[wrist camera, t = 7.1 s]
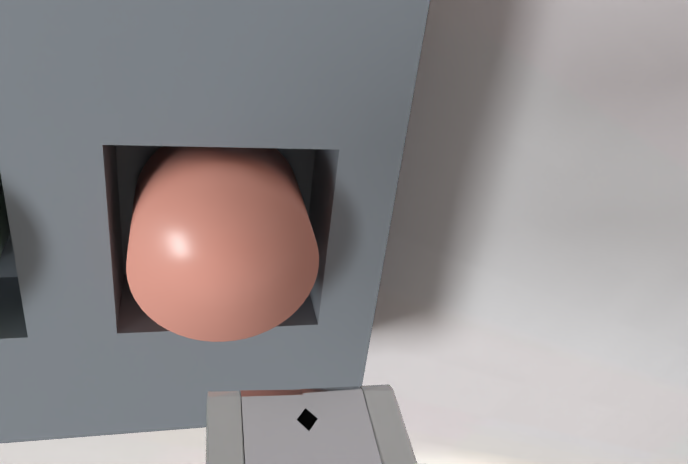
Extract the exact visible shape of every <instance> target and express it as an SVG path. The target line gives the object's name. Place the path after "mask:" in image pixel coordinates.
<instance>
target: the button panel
mask: <svg viewBox="0 0 688 464" xmlns="http://www.w3.org/2000/svg"><path fill="white" fill-rule="evenodd" d="M429 3H430V0H0V173H1V179H2V185H3V191H4V197H5V203H6V209H7V215H8V221H9V227H10V233H9V236H8V238H7V241H6V243H5V246H4V248H3V250H2V253H1V255H0V443H11V442H24V441H36V440H49V439H62V438H74V437H87V436H100V435H113V434H125V433H138V432H151V431H163V430H176V429H189V428H202V427H206V414H207V394H208V392H212V391H239V393H240V390H300V389H311V388H331V387H351V386H358V387H360V386H362V382H363V376H364V371H365V365H366V359H367V354H368V348H369V343H370V337H371V331H372V326H373V320H374V314H375V309H376V303H377V297H378V292H379V286H380V280H381V275H382V269H383V263H384V258H385V252H386V246H387V241H388V235H389V229H390V224H391V218H392V212H393V207H394V201H395V196H396V190H397V184H398V179H399V173H400V167H401V162H402V156H403V150H404V145H405V139H406V133H407V128H408V122H409V116H410V111H411V105H412V99H413V94H414V88H415V82H416V77H417V71H418V66H419V60H420V54H421V49H422V43H423V37H424V32H425V26H426V20H427V15H428V9H429ZM162 146H183V147H232V148H276V149H277V150H278V151H279V152H280V153H281V154H282V155H283V156H284V157H285V159H286V160H287V161H288V163H289V164H290V166H291V168H292V170H293V172H294V174H295V177H296V180H297V183H298V186H299V189H300V192H301V195H302V198H303V201H304V204H305V207H306V210H307V214H308V217H309V220H310V223H311V226H312V229H313V232H314V235H315V238H316V242H317V245H318V252H319V268H318V273H317V277H316V280H315V283H314V286H313V288H312V290H311V292H310V294H309V296H308V297H307V298H306V300H305V301H304V303H303V304H302V305H301V306H300V307H299V308H298V310H297V311H296V312H295V313H294V314H292V315H291V316H290V317H289V318H288V319H286V320H285V321H284V322H282V323H281V324H279V325H278V326H276V327H274V328H272V329H270V330H268V331H266V332H264V333H261V334H259V335H256V336H253V337H249V338H246V339H241V340H236V341H226V342H210V341H200V340H195V339H190V338H187V337H184V336H181V335H178V334H175V333H173V332H171V331H169V330H167V329H165V328H163V327H162V326H160V325H158V324H157V323H156V322H155V321H153V320H152V319H151V318H150V317H149V316H148V315H147V314H146V313H145V312H144V311H143V310H142V309H141V308H140V306H139V305H138V303H137V302H136V301H135V299H134V297H133V295H132V293H131V290H130V287H129V284H128V280H127V273H126V260H127V251H128V243H129V235H130V226H131V218H132V209H133V201H134V193H135V187H136V183H137V180H138V177H139V174H140V172H141V171H142V169H143V167H144V165H145V164H146V162H147V161H148V160H149V158H150V157H151V156H152V155H153V154H154V153H155V152H156V151H157V150H158V149H159V148H160V147H162Z"/></svg>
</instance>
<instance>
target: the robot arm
mask: <svg viewBox="0 0 688 464" xmlns="http://www.w3.org/2000/svg"><path fill="white" fill-rule="evenodd" d="M206 464H417V461H416V458H415V455H414V452H413V449H412V446H411V443H410V439H409V436H408V433H407V430H406V427H405V424H404V421H403V418H402V415H401V412H400V409H399V406H398V403H397V400H396V396H395V393H394V390H393V388H392V387H391V386H390V385H372V386H360V387H358V386H351V387H331V388H311V389H300V390H240V393H239V391H212V392H208V394H207V414H206Z"/></svg>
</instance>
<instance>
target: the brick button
mask: <svg viewBox="0 0 688 464" xmlns="http://www.w3.org/2000/svg"><path fill="white" fill-rule="evenodd" d="M318 268H319V252H318V245H317V242H316V238H315V235H314V232H313V229H312V226H311V223H310V220H309V217H308V214H307V210H306V207H305V204H304V201H303V198H302V195H301V192H300V189H299V186H298V183H297V180H296V177H295V174H294V172H293V170H292V168H291V166H290V164H289V163H288V161H287V160H286V159H285V157H284V156H283V155H282V154H281V153H280V152H279V151H278V150H277V149H276V148H232V147H183V146H162V147H160V148H159V149H158V150H157V151H156V152H155V153H154V154H153V155H152V156H151V157H150V158H149V160H148V161H147V162H146V164H145V165H144V167H143V169H142V171H141V172H140V174H139V177H138V180H137V183H136V187H135V193H134V201H133V209H132V218H131V226H130V235H129V243H128V251H127V260H126V273H127V280H128V284H129V287H130V290H131V293H132V295H133V297H134V299H135V301H136V302H137V303H138V305H139V306H140V308H141V309H142V310H143V311H144V312H145V313H146V314H147V315H148V316H149V317H150V318H151V319H152V320H153V321H155V322H156V323H157V324H158V325H160V326H162V327H163V328H165V329H167V330H169V331H171V332H173V333H175V334H178V335H181V336H184V337H187V338H190V339H195V340H200V341H210V342H226V341H236V340H241V339H246V338H249V337H253V336H256V335H259V334H261V333H264V332H266V331H268V330H270V329H272V328H274V327H276V326H278V325H279V324H281V323H282V322H284V321H285V320H286V319H288V318H289V317H290V316H291V315H292V314H294V313H295V312H296V311H297V310H298V308H299V307H300V306H301V305H302V304H303V303H304V301H305V300H306V298H307V297H308V296H309V294H310V292H311V290H312V288H313V286H314V283H315V280H316V277H317V273H318Z"/></svg>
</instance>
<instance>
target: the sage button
mask: <svg viewBox="0 0 688 464" xmlns="http://www.w3.org/2000/svg"><path fill="white" fill-rule="evenodd" d="M9 233H10V227H9V221H8V215H7V209H6V203H5V197H4V191H3V185H2V179H1V173H0V255H1V253H2V250H3V248H4V246H5V243H6V241H7V238H8V236H9Z"/></svg>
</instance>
